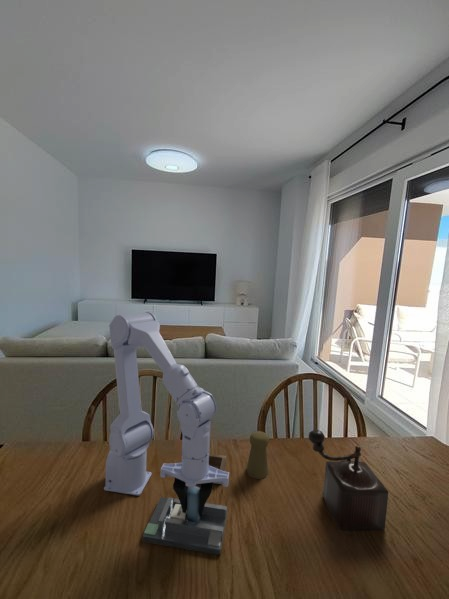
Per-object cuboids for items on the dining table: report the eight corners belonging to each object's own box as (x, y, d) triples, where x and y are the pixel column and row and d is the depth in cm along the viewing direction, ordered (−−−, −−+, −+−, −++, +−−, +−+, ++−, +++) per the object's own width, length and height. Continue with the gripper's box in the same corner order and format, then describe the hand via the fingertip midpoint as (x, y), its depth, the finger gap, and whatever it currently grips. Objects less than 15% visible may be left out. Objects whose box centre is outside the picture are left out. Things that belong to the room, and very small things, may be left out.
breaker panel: (142, 541, 60) (142, 527, 59) (160, 501, 70) (161, 489, 70) (220, 555, 58) (221, 540, 57) (227, 512, 68) (227, 499, 68)
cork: (267, 480, 79) (270, 441, 78) (245, 476, 80) (247, 438, 79) (268, 466, 85) (271, 429, 84) (247, 462, 86) (249, 426, 85)
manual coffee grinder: (359, 493, 76) (366, 426, 74) (386, 530, 65) (394, 454, 63) (301, 493, 75) (306, 426, 73) (317, 532, 64) (324, 454, 62)
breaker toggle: (170, 523, 62) (170, 515, 62) (175, 510, 66) (175, 503, 66) (184, 525, 62) (184, 518, 62) (188, 512, 65) (188, 505, 65)
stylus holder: (192, 480, 78) (192, 470, 77) (198, 460, 86) (199, 452, 85) (221, 484, 77) (222, 474, 76) (226, 464, 85) (226, 455, 84)
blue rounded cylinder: (185, 522, 62) (185, 496, 62) (187, 510, 65) (188, 485, 65) (199, 523, 62) (200, 497, 61) (201, 511, 65) (202, 486, 64)
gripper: (155, 458, 59) (154, 520, 60) (227, 468, 57) (224, 532, 58) (167, 438, 66) (165, 494, 67) (231, 446, 64) (228, 504, 65)
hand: (193, 510), depth 63 cm, fingers closed on blue rounded cylinder, 3 cm apart
